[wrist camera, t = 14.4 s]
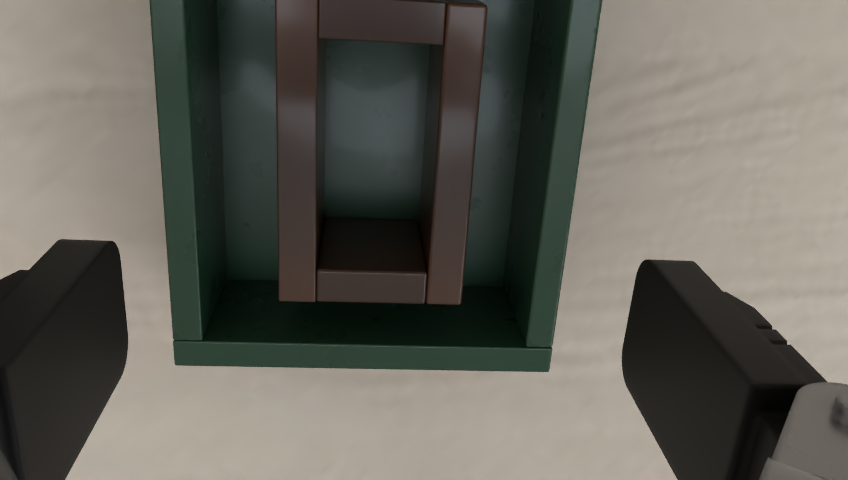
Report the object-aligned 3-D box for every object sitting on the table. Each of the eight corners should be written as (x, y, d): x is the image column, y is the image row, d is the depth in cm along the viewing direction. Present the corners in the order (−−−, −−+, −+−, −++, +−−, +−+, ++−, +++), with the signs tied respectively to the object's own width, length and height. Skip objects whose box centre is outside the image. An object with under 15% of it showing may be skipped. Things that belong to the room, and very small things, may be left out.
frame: (290, -20, 21) (274, -9, 18) (468, -9, 22) (488, 4, 18) (291, 245, 24) (278, 302, 21) (447, 249, 25) (461, 305, 21)
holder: (187, -106, 21) (140, -113, 17) (566, -79, 22) (615, -80, 18) (206, 292, 25) (174, 366, 21) (520, 300, 26) (549, 372, 22)
